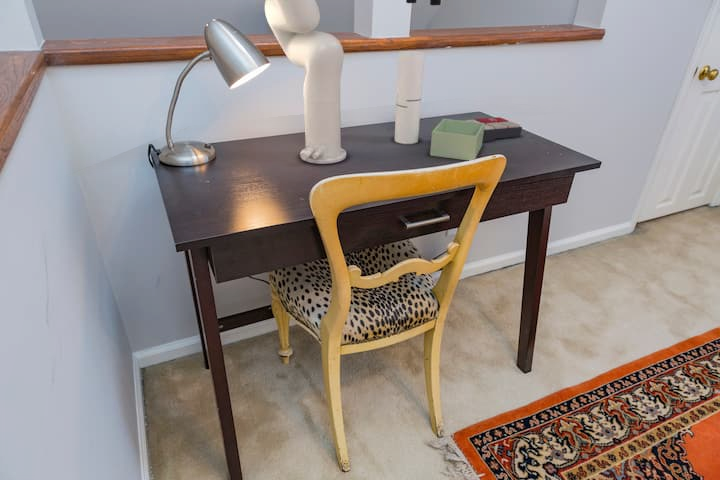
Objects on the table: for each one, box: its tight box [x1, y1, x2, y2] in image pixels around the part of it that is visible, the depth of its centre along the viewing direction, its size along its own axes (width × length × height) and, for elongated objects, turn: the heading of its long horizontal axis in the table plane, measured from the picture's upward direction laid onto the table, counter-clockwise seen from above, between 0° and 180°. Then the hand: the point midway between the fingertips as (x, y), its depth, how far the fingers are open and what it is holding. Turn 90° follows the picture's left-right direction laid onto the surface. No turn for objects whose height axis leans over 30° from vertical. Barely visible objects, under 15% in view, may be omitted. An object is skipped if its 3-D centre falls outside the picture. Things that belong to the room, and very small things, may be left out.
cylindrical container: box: [394, 50, 426, 145], centre depth 141 cm, size 7×7×25 cm
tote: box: [429, 118, 485, 161], centre depth 138 cm, size 14×12×7 cm
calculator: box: [464, 116, 523, 143], centre depth 152 cm, size 11×4×15 cm
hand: (422, 4), depth 132 cm, fingers open, 9 cm apart
